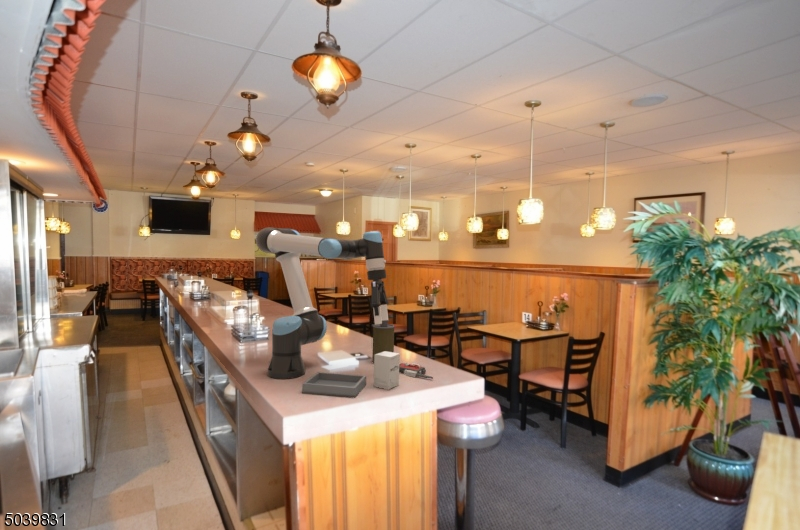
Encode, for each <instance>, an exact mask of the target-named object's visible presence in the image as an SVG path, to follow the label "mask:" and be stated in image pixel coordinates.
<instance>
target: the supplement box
mask: <svg viewBox="0 0 800 530" xmlns="http://www.w3.org/2000/svg"><path fill="white" fill-rule="evenodd" d="M400 355H401V354H400V353H398V352H395V351H394V352H387V351H384V352H381V353H378V354H375V355H374V364H373V365H374V366H373V387H374V386H375V388H378V387H379V388H380V389H382V388H384V389H383V390H387V389H388V390H391V389H393V388H395V387H397V386H399V384H400V381H399V380H400V373H399V364H400ZM388 390H387V391H388Z"/></svg>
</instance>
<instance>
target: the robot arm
mask: <svg viewBox="0 0 800 530" xmlns="http://www.w3.org/2000/svg"><path fill="white" fill-rule="evenodd" d="M362 235H363V236H362V237H361V238H360V239H337V238H330V237H328V238H327V237H318V236H308V235H302V234H301V233H299V232H298V230H296V229H291V228H278V227H273V226H272V227H270V226H269V227H264V228H262V229H260V230H259V231H258V232H257V234H256V236H255V243H256V246H257V248H258V249H259V250H260V251H262V252H263V253H266V254H274V257H275V260H276V261H277V262H279V263H280V267H281V269H282V273H283V276H284V280H285V284H286V288H287V292H288V295H289V299H290V303H291V306H292V310H293V314H292V315H288V316H282V317H279V318H276V319H275V320H274V321H273V323H272V331H271V332H272V335H271V336H272V338H271V340H272V343H271V344H272V345H271V347H272V351H271V352H272V353H271V354H272V355H271V358H270V361H269V365H268V368H267V376H268V377H269V378H271V379H272V378H273V379H277V380H280V379H281V380H286V379H287V380H288V379H295V378H298V377H301V376H303V375H305V374H306V366H305V363H304V361H303V357H302V346H303V345H304V346H305V345H308V344H312V343H316V342H318V341H320V340H322V339H323V338H324V337H325V334H326V332H327V330H328V329H327V327H328V325H327V321H326V318H325V317H324V316H322V315H320V314H319V312H318V309H317V308H315V307H314V305H313V303H312V299H311V295H310V291H309V289H308V285H307V281H306V277H305V274H304V270H303V267H302V264H301V260H300V258H301V255H308V256H316V257H322V258H325V259H331V260H333V259H341V260H352V259H359V258H363V257H364V258H365V265H366V266H365V267H366V270H367V272H366V275H367V280H368V281H371V282H370V285H371V286H370V289H371V294H370V295H371V296H370V297H371V301H370V303H371V304H370V308H372V309H373V318H374V321H373V322H374V325H375V324H382V321H383V320H389V314H388V304H389V301H388V298H387V294H386V287H385V281H384V279H387V272H386V269H385V268H386V264H387V263H386V262H387V260H386V259H385V254H384V244H383V243H384V242H383V236H382V233H381V232H380V231H378V230H377V231H376V230H375V231H366V232H364V233H363V234H362Z"/></svg>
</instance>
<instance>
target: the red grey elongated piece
mask: <svg viewBox="0 0 800 530" xmlns="http://www.w3.org/2000/svg"><path fill="white" fill-rule="evenodd" d="M399 372H401V373H400V374H404V373H405V374H406V375H405V374H404V375H405V376H407V377H412V378H417V377H418V378H419V377H420V378H424V379H432V380H433V379H434V376H430V375H425V374H426V372H427V369H426V367H425V366H422V364H421V363H415V362H411V363H408V362H404V363H403V362H401V363H399ZM416 376H417V377H416Z"/></svg>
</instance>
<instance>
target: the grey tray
mask: <svg viewBox="0 0 800 530" xmlns="http://www.w3.org/2000/svg"><path fill="white" fill-rule="evenodd" d="M366 385H367V375H361V374H351V373H350V374H349V373H348V374H347V373H338V372H337V373H336V372H335V373H334V372H325V371H324V372H323V371H322V372H321V371H317V372H316V373H314V374H313V375H311V376H310V377H309V378H308V379H307V380H305V381H304V382H302V384H301V387H302V388H301V393H302V394H305V395H306V394H309V395H319V396H329V397H330V396H331V397H340V398H344V397H345V398H351V397H354V399H355V398H357V396H358V395H359V394H360V393H361V392H362V390H363V389H364V388H365V387H364V386H366ZM359 392H360V393H359Z"/></svg>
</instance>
